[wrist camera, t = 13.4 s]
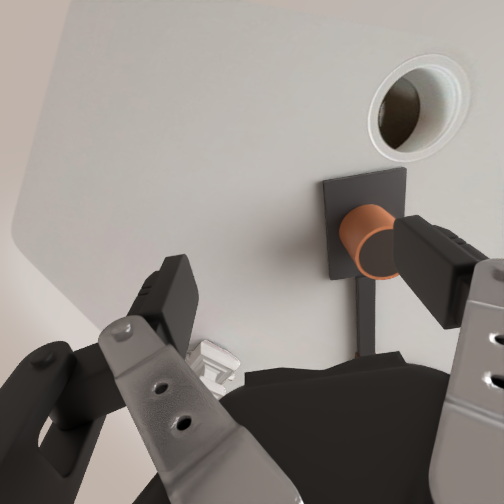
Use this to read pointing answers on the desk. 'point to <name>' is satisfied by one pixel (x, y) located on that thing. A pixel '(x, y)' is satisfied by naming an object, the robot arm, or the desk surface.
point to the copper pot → (370, 240)
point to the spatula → (340, 262)
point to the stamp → (212, 366)
